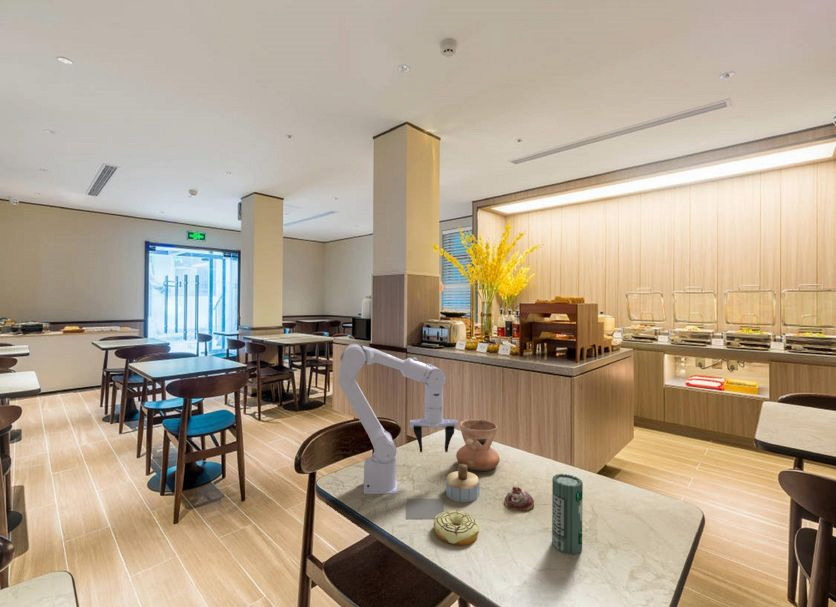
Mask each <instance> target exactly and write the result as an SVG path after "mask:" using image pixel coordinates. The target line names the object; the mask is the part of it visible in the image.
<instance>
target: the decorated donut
mask: <svg viewBox="0 0 836 607" xmlns="http://www.w3.org/2000/svg"><path fill="white" fill-rule="evenodd" d="M433 528H434V532H435V534H436V535H437V537H438V539H440V540H441V541H442V542H444V543H445V542H446V543H447V544H450V545H454V546H467V545H471V544H473V543H475V541H476V540H477V538H478V536H479V533H480V527H479V523H478V522H477V520H476V518H474V516H472V515H471V514H469V513H467V512H465V511H462V510H458V509H451V510H450V509H449V510H444V512H443V513H440V514H438V515H437V516H436V517H435V519H433Z"/></svg>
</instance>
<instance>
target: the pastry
mask: <svg viewBox="0 0 836 607" xmlns="http://www.w3.org/2000/svg"><path fill="white" fill-rule="evenodd" d="M504 505H505V507H507V508H508V509H511V510H514V511H516V512H528V511H530V510H531V511H532V510H533V509H534V507H535V501H534V498H533V497H532V495H531V494H530V493H529V492H527V491H525V490H523V489H522V488H521V487H519V486H512V489H511V490H510V491H509V492H507V494H506V495H505V497H504Z"/></svg>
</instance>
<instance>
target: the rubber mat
mask: <svg viewBox="0 0 836 607" xmlns="http://www.w3.org/2000/svg"><path fill="white" fill-rule="evenodd" d="M443 512H445V507H444V501H443V498H406V508H405V520H434V519H435V517H436V516H437V515H438V514H440V513H443Z"/></svg>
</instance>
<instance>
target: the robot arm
mask: <svg viewBox="0 0 836 607" xmlns="http://www.w3.org/2000/svg"><path fill="white" fill-rule="evenodd" d="M365 364H366V365H368V366H370V365H373V364H379V365H383V366H386V367H389V368H392V369H395V370H398V371H400V373H401V375H402V377H405V378H408V379H411V380H414V381H416V382H419V383H424V418H419V419H409V420H410V421H409V428H410V429H413V433H414V435H415V438H416V441H417V442H418V447H419V453H423V443H422V442H423V441H422V440H423V434H422V433H423V429H422V428H444V432H445V434H444V435H445V436H444V437H445V438H444V453H448V452H449V451H448V450H449V446H450V443H451V440H452V437H454V436H453V435H454V434H455V429H458V428H459V424H458V423H459V421H458V420H457V419H447V418H446V419H445V418H444V385H445V383H446V380H447V378H446V375H445V373H444V371H443V370H441V369H440V368H439V367H437V366H435V365H433V364H431V363H429V362H428V363H425V362H421V361H419V359H418V358H417V357H408V358H406V359H401V358H398V357H397V356H395V355H391V354H388V353H387V352H384V351H382V350H379V349H376V348H373V347H370V346H366V345H362V346H361V345H360V344H357V343H349V344H348V345H346V347H344V349H343V351H342V353H341V356H340V360H339V370H338V378H337V379H338V380H337V382H338V385H339V388H340V389H341V390H342V392H343V393H344V396H345V397H346V399H347V400H348V402H349V404H350V406H351V407H352V409H353V411H354V413H355V415H356V416H357V418H358V419H359V421H360V423H361V425H362V426H363V428H364V430H365V432H366V434H367V435H368V438H369V439H370V442H371V444H372V447H373V450H374V452H372V455H371V456H370V457H366V458H365V459H364V464H363V465H364V466H363V494H365V495H366V494H368V495H370V494H371V495H372V494H373V495H376V494H378V495H379V494H380V495H381V494H387V495H388V494H389V495H390V494H392V495H393V494H396V495H397V492H398V491H397V490H398V480H397V475H396V474H397V473H396V472H397V447H396V444H395V443H394V441H393V436H392V434H391V433H390V432H389V431H387V430H386V429H385V428H384V427H383V425H382V424H381V423H380V421H379V419H378V417H377V416H376V413H375V412H374V410H373V408H372V407H371V405H370V403H369V401H368V399H367V398H366V396H365V395H364V392H363V391H362V389H361V388H360V386H359V384H358V382H357V381H356V380H357V377H358V374H359V371H360V370H361V369H362V368H363V366H364V365H365Z"/></svg>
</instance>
